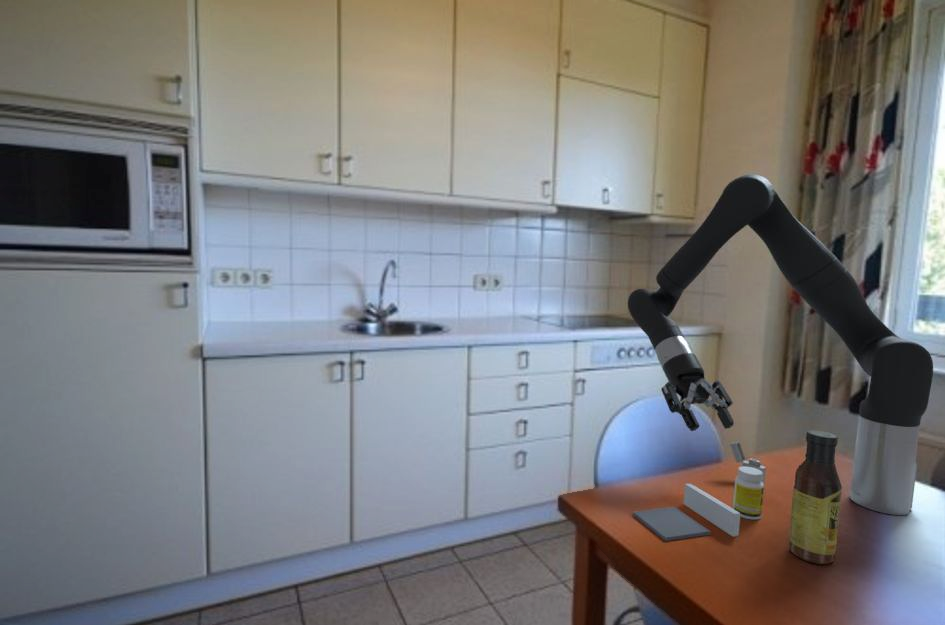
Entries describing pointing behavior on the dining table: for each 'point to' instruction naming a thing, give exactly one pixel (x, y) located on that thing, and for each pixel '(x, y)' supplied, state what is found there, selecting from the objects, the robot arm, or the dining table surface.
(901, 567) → the dining table surface
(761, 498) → the supplement bottle
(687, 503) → the wall
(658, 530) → the coaster
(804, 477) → the sauce bottle
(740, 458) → the lighter
